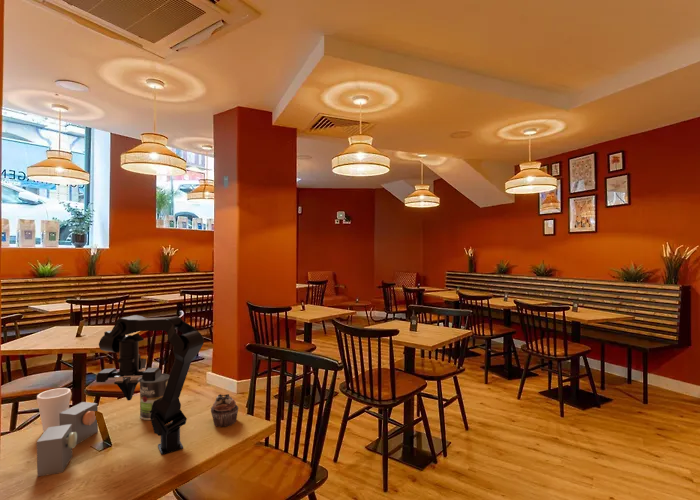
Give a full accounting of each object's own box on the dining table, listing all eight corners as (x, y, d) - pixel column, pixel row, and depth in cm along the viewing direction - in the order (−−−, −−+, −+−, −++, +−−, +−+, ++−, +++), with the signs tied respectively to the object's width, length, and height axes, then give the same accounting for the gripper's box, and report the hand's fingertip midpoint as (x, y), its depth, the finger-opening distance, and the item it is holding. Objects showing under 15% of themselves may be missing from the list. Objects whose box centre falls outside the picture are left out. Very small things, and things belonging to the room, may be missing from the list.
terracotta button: (96, 421, 136) (96, 408, 136) (85, 427, 132) (85, 414, 131) (80, 419, 137) (80, 407, 137) (69, 425, 133) (69, 412, 133)
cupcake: (239, 425, 144) (239, 398, 143) (211, 430, 140) (211, 402, 140) (237, 414, 153) (237, 388, 152) (210, 418, 149) (210, 391, 149)
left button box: (72, 455, 123) (71, 424, 123) (62, 472, 115) (61, 438, 115) (49, 459, 121) (48, 427, 121) (37, 476, 113) (36, 441, 113)
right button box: (97, 431, 139) (97, 403, 138) (75, 445, 130) (75, 414, 129) (82, 430, 140) (82, 401, 139) (59, 443, 131) (59, 413, 130)
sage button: (77, 443, 122) (76, 429, 122) (72, 450, 118) (72, 436, 117) (53, 446, 120) (53, 432, 120) (47, 454, 116) (47, 439, 115)
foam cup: (44, 439, 133) (43, 400, 133) (32, 431, 138) (32, 394, 138) (76, 427, 141) (75, 391, 141) (64, 421, 146) (63, 386, 146)
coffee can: (156, 422, 146) (155, 384, 146) (133, 418, 149) (133, 380, 149) (176, 410, 156) (175, 374, 155) (154, 406, 159) (154, 371, 158)
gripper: (166, 346, 142) (167, 390, 143) (112, 347, 141) (112, 391, 141) (154, 356, 131) (154, 403, 132) (94, 357, 130) (95, 404, 130)
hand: (129, 400), depth 134 cm, fingers closed
